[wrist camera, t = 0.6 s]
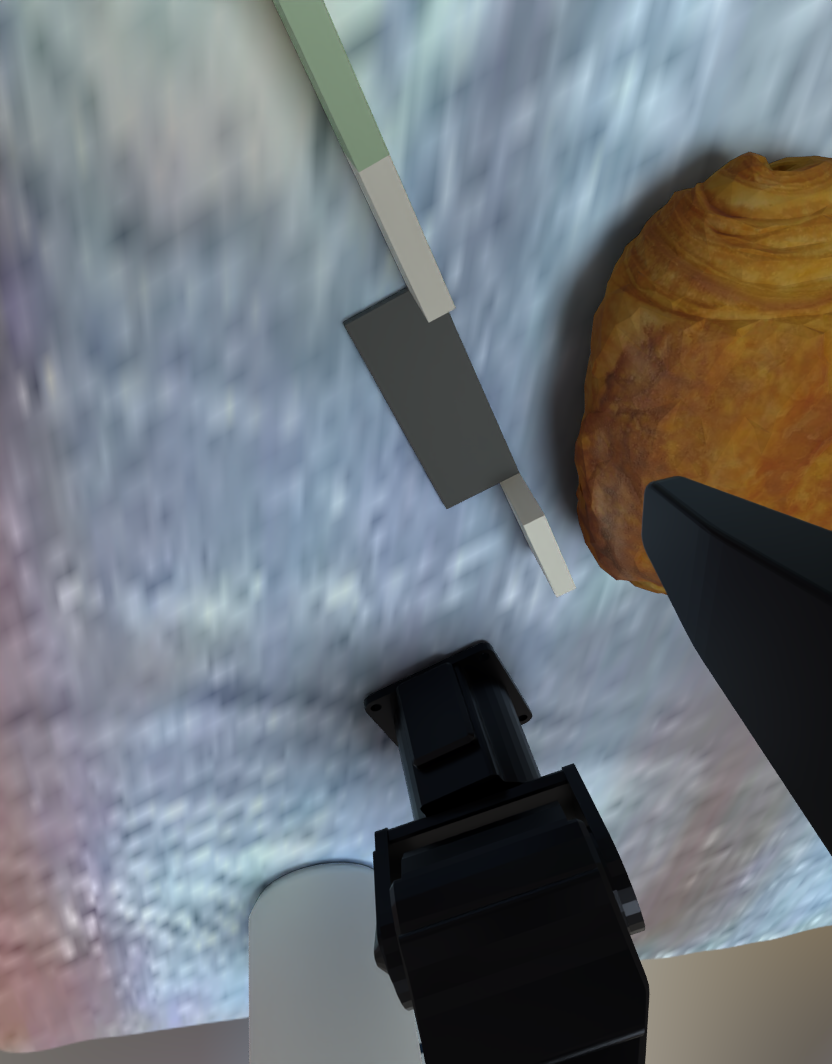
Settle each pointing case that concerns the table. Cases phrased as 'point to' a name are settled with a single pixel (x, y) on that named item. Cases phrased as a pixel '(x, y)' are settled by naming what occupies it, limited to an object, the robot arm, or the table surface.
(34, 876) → the table surface
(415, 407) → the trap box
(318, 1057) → the white bottle
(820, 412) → the croissant
